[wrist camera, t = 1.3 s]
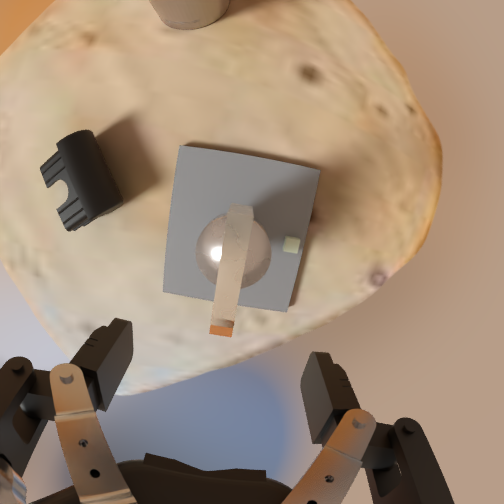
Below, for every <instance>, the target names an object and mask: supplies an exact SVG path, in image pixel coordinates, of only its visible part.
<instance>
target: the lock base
mask: <svg viewBox="0 0 504 504" xmlns="http://www.w3.org/2000/svg"><path fill="white" fill-rule="evenodd" d="M319 175H320V170H317V169H313V168H309V167H304V166H300V165H295V164H291V163H286V162H281V161H276V160H271V159H266V158H261V157H255V156H250V155H244V154H238V153H232V152H225V151H219V150H212V149H205V148H197V147H189V146H181V145H180V146H179V152H178V158H177V164H176V171H175V177H174V184H173V192H172V199H171V207H170V215H169V224H168V234H167V244H166V255H165V267H164V282H163V292H166V293H171V294H176V295H182V296H187V297H192V298H198V299H203V300H209V301H214V297H215V290H216V285H215V284H213V283H212V282H210V281H209V280H208V279H207V278H206V277H205V276H204V275H203V274H202V272H201V271H200V269H199V267H198V264H197V261H196V255H195V250H196V243H197V241H198V238H199V236H200V234H201V233H202V231H203V230H204V228H205V227H206V225H207V224H208V223H209V222H210V221H211V220H212V219H214V218H215V217H217V216H219V215H221V214H224V213H228V210H229V208H230V205H231V203H235V204H241V205H247V206H252V207H253V214H254V218H255V219H256V220H258V221H259V222H260V223H261V225H262V226H263V227H264V229H265V230H266V232H267V235H268V238H269V241H270V245H271V251H272V257H271V262H270V266H269V268H268V270H267V272H266V273H265V275H264V276H263V277H262V278H261V279H260V280H259V281H258V282H256V283H255V284H253V285H251V286H249V287H246V288H243V289H240V293H239V299H238V304H237V305H239V306H246V307H252V308H259V309H266V310H273V311H280V312H287V310H288V306H289V303H290V299H291V295H292V291H293V287H294V284H295V280H296V276H297V272H298V268H299V264H300V260H301V256H302V252H303V247H304V243H305V239H306V235H307V230H308V226H309V222H310V217H311V213H312V208H313V204H314V199H315V194H316V190H317V185H318V180H319Z"/></svg>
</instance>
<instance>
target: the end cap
mask: <svg viewBox="0 0 504 504" xmlns="http://www.w3.org/2000/svg"><path fill="white" fill-rule="evenodd" d="M56 145H57V148H58V151H57V152H56V153H55V154H54V155H53V156H51V157H50V158H49V159H48V160H47V161H46V162H45V163H44V164H43V165H42V166H41V167H40V171H41V173H42V176H43V178H44V181H45V184H46V186H47V188H49V187H51V186H52V185H53V184H54V183H55V182H56V181H58V180H63V181H64V182H65V183H66V184H67V186H68V191H69V193H68V198H67V200H66V202H65V203H64V204H62V205H61V206H60V207H59V208H58V209H56V210H57V212H58V214H59V216H60V218H61V220H62V222H63V225H64V227H65V229H66V230H67V231H72V230H73V231H76V230H77V229H78V228H80V227H81V226H86V225H87V224H89V223H90V222H92V221H93V220H95V219H96V218H98V217H100V216H103V215H105V214H107V213H110V212H112V211H114V210H115V209H117V208H118V207H120V206H121V205H122V204H123V202H124V201H123V198H122V196H121V194H120V192H119V190H118V188H117V186H116V184H115V182H114V180H113V178H112V175H111V173H110V171H109V169H108V167H107V164H106V162H105V160H104V158H103V155H102V153H101V151H100V149H99V146H98V144H97V142H96V139H95V137H94V134H93V132H92V131H90V130H81V131H77V132H74V133H72V134H70V135H68V136H66V137H64V138H63V139H61V140H60V141H59V142H58V143H57V144H56Z"/></svg>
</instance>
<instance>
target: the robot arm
mask: <svg viewBox="0 0 504 504" xmlns="http://www.w3.org/2000/svg"><path fill="white" fill-rule="evenodd" d="M149 1H150V3H151V4H152V6H153V7H154V9H155V11H156V12H157V14H158V15H159V17H160V18H161V20H162V21H163V22H164V23H165V24H166V25H168V26H170V27H172V28H176V29H182V30H189V29H196V28H201V27H204V26H207V25H209V24H211V23H213V22H215V21H216V20H217V19H219V18H220V17H221V16H222V15H223V14H224V13H225V11H226V10H227V8H228V5H229V0H149ZM132 356H133V331H132V322H131V321H127V320H123V319H119V318H114V320H113V321H112V322H111V323H110V325H109V326H108V327H106V326H102V327H100V328H98V329H96V330H94V332H93V333H92V334H91V335H90V337H89V339H87V340H86V342H85V344H83V346H82V347H81V348H80V350H79V351H78V352H77V353H76V355H75V356H74V357H73V359H72V360H71V361H70V363H64V364H60V365H57V366H55V367H54V368H53V369H52V370H51V371H44V370H37V369H33V366H32V363H31V361H30V360H28V359H27V358H25V357H13V358H11V359H9V360H8V361H7V362H6V363H5V364H4V365H3V367H2V368H1V369H0V504H26V491H27V489H26V485H25V483H24V481H23V479H22V476H23V474H24V471H25V469H26V467H27V464H28V462H29V460H30V458H31V455H32V453H33V451H34V449H35V447H36V444H37V442H38V440H39V438H40V436H41V434H42V432H43V430H44V428H45V426H46V424H47V422H48V420H51V421H55V423H56V427H57V431H58V436H59V439H60V443H61V447H62V450H63V454H64V457H65V460H66V463H67V466H68V469H69V472H70V475H71V478H72V481H73V484H74V485H73V486H70V487H68V488H66V489H63V490H61V491H59V492H56V493H54V494H52V495H49V496H47V497H45V498H42V499H39V500H37V501H34V502H31V503H29V504H341V502H342V501H343V499H344V497H345V496H346V494H347V492H348V490H349V489H350V487H351V485H352V483H353V481H354V479H355V478H356V476H357V474H358V472H359V470H360V468H365V471H366V475H367V479H368V483H369V487H370V491H371V495H372V500H373V504H454V501H453V499H452V496H451V493H450V491H449V488H448V486H447V483H446V481H445V479H444V476H443V474H442V472H441V469H440V467H439V464H438V462H437V460H436V458H435V455H434V453H433V451H432V449H431V447H430V445H429V442H428V440H427V438H426V436H425V434H424V432H423V430H422V427H421V426H420V424H419V423H418V422H416V421H415V420H413V419H411V418H400V419H398V420H397V421H396V422H395V423H394V425H389V424H383V423H378V422H376V421H375V418H374V417H373V416H372V415H371V414H370V413H369V412H367V411H365V410H362V409H361V408H360V405H359V403H358V401H357V398H356V396H355V393H354V391H353V388H352V387H351V384H350V381H348V377H347V375H346V372H345V371H344V370H343V369H342V367H341V366H340V365H339V364H333V361H332V359H331V356H330V354H329V353H325V352H312V353H311V354H310V356H309V359H308V362H307V364H306V367H305V370H304V372H303V375H302V378H301V393H302V397H303V402H304V406H305V411H306V416H307V420H308V425H309V429H310V434H311V439H312V443H313V444H322V447H323V449H322V450H321V451H320V453H319V454H318V456H317V457H316V459H315V460H314V461H313V463H312V464H311V466H310V467H309V468H308V470H307V471H306V472H305V474H304V475H303V476H302V478H301V479H300V480H299V481H298V483H297V484H296V485H295V486H294V488H293V489H291V488H290V487H288V486H286V485H284V484H283V483H281V482H278V481H276V480H273V479H270V478H266V470H249V469H228V470H217V471H203V470H200V469H197V468H195V467H192V466H189V465H187V464H184V463H182V462H179V461H177V460H175V459H169V458H165V457H161V456H156V455H152V454H149V453H146V454H145V458H144V460H129V461H123V462H120V463H117V464H116V462H115V460H114V457H113V456H112V453H111V451H110V448H109V446H108V444H107V441H106V439H105V437H104V434H103V431H102V429H101V426H100V424H99V421H98V418H97V416H96V411H97V409H99V410H102V411H105V412H106V410H107V409H108V406H109V404H110V402H111V400H112V398H113V396H114V394H115V392H116V390H117V388H118V386H119V384H120V382H121V380H122V378H123V376H124V374H125V372H126V370H127V368H128V366H129V364H130V362H131V360H132ZM397 463H398V464H397ZM398 466H399V467H398ZM399 468H400V470H399ZM400 471H401V473H400ZM401 475H402V476H401Z"/></svg>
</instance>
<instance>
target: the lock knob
mask: <svg viewBox="0 0 504 504" xmlns="http://www.w3.org/2000/svg"><path fill="white" fill-rule="evenodd" d="M195 255H196V261H197V264H198V267H199V269H200V271H201V272H202V274H203V275H204V276H205V277H206V278H207V279H208V280H209V281H210V282H212V283H213V284H215V285H216V290H215V297H214V304H213V311H212V318H211V326H210V333H209V334H214V335H220V336H227V337H232V331H233V326H234V320H235V315H236V310H237V304H238V299H239V293H240V289H243V288H246V287H249V286H251V285H253V284H255V283H256V282H258V281H259V280H260V279H261V278H262V277H263V276H264V275H265V273H266V272H267V270H268V268H269V266H270V262H271V257H272V251H271V245H270V241H269V238H268V235H267V232H266V230H265V229H264V227H263V226H262V225H261V223H260V222H259V221H258V220H256V219H255V218H254V214H253V207H252V206H247V205H241V204H235V203H231V205H230V208H229V210H228V213H224V214H221V215H219V216H217V217H215V218H214V219H212V220H211V221H210V222H209V223H208V224H207V225H206V227H205V228H204V230H203V231H202V233H201V234H200V236H199V238H198V241H197V243H196V250H195Z"/></svg>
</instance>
